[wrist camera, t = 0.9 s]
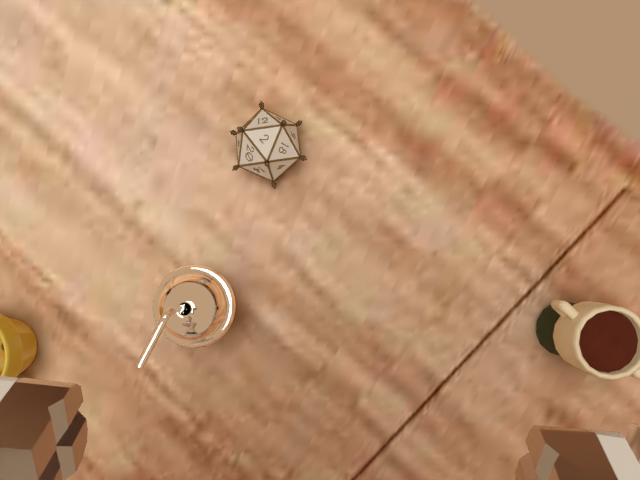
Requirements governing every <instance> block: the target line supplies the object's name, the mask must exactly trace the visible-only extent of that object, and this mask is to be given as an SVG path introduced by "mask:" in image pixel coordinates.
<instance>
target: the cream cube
mask: <svg viewBox="0 0 640 480" xmlns="http://www.w3.org/2000/svg"><path fill="white" fill-rule="evenodd" d="M626 441H627V442H628V444H629V446H630V448H631V450H632V451H633V453H634V455H635V457H636V459H637V461H638V462H639V464H640V426H639V425H636V424H633V423H631V424H630V427H629V430H628V433H627V436H626Z"/></svg>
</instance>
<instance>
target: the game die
mask: <svg viewBox="0 0 640 480" xmlns="http://www.w3.org/2000/svg"><path fill="white" fill-rule="evenodd" d="M259 105H260V106H259V107H260V108H261V109H260V110H259V111H258V112H257V113H256V114H255V115H254V116H253V117H252V118H251V119H250V120H249V121H248V122H247V123H246V124H245V125H244V126H243V127H237V129H238V132H236V131H234V130H232V131H230V132H231V134H232V135H236V145H237V159H238V165H235V166H233V170H237V169H238V168H239V167H241V168H243V169H245V170H247V171H250V172H252V173H254V174H257V175H259V176H261V177H263V178H266V179H268V180H270V181H272V187H273V188H274V189H275V187H276V183H275V180H276V179H277V178H279V177H280V176H281V175H282V174H283V173H284V172H285V171H286V170H287V169H289V168H290V167H291V166H292V165H293V164H294V163H295V162H296V161H297V160H299V159H301V160H303V161H304V160H307V158H306V157H305V156H301V155H300V147H299V138H298V130H297V126H300V125H301V123H302V121H298V122H297V123H296V124H295V123H293V122H291V121H289V120H286V119H284V118H282V117H280V116H278V115H276V114H274V113H272V112H270V111H268V110H266V109H264V104H263V102H262V101H261V102H260V104H259ZM233 170H232V171H233Z"/></svg>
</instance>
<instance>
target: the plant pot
mask: <svg viewBox="0 0 640 480" xmlns="http://www.w3.org/2000/svg"><path fill="white" fill-rule="evenodd" d="M36 352H37V340H36V336H35V334H34V332H33V331H32V329H31V328H30V327H29V326H28V325H27V324H26V323H24V322H22V321H20V320H17V319H12V318H7V317H5V316H4V315H3V314H1V313H0V376H8V377H17V376H18V375H19V374H20V373H21V372H23V371H24V370H25V369H26V368H28V367H29V366H30V364H31V363H32V362H33V360H34V358H35V356H36Z"/></svg>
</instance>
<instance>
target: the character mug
mask: <svg viewBox="0 0 640 480" xmlns="http://www.w3.org/2000/svg"><path fill="white" fill-rule="evenodd" d="M537 335H538V338H539V340H540V343H541V345H543V346H544V347H545V348H546V349H547V350H548V351H549V352H551V353H554V354H557V355H560V356H561V357H562V359H563V360H564V361H566V362H568V363H569V364H571V365H573V366H574V367H576V368H578V369H580V370H582V371H585V372H587V373H589V374H591V375H594V376H596V377H599V378H604V379H611V380H617V379H621V378H625V377H629V376H632V377H635V378H638V379H640V318H639V317H638V315H636V314H635V313H633V312H632V311H630V310H628V309H625V308H623V307H619V306H615V305H611V304H605V303H598V302H593V301H584V302H579V303H577V304H574V303H570V302H566V301H563V300H558V299H555V300H553V301H552V302H551V305H550V306H548V307H547V308H546V309H544V310H543V312H542V314H541V315H540V317H539V319H538V321H537Z"/></svg>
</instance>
